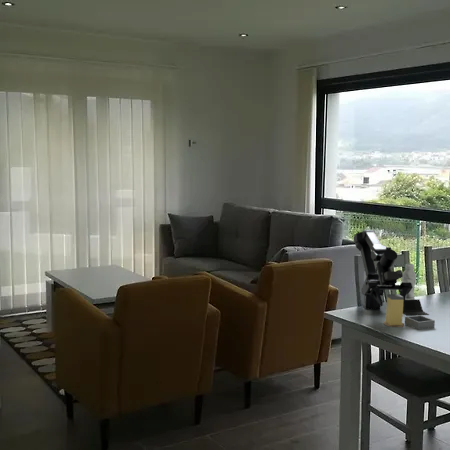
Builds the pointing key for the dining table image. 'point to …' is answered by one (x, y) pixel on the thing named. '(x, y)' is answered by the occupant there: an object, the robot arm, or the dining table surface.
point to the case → (419, 322)
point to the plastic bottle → (409, 280)
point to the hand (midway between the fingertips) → (392, 305)
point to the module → (394, 309)
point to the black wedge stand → (413, 308)
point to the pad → (393, 325)
